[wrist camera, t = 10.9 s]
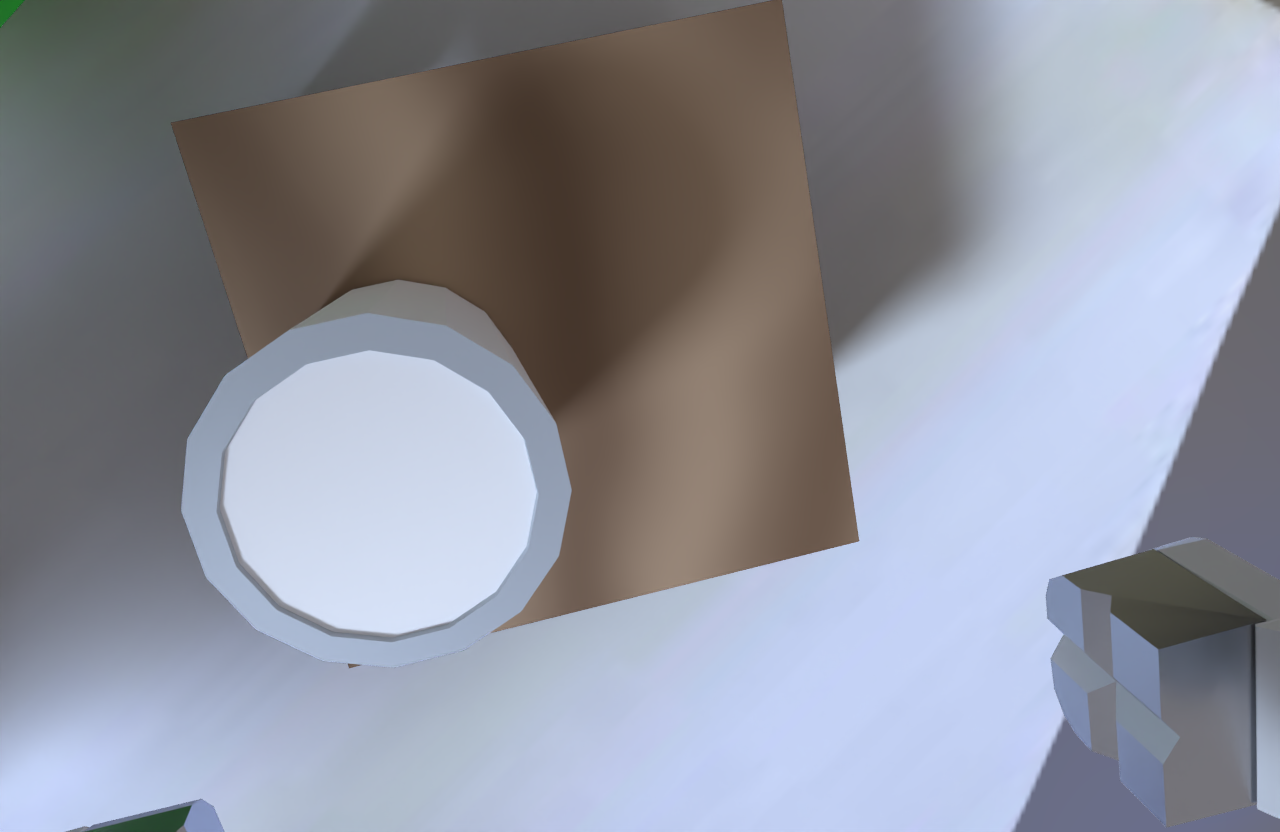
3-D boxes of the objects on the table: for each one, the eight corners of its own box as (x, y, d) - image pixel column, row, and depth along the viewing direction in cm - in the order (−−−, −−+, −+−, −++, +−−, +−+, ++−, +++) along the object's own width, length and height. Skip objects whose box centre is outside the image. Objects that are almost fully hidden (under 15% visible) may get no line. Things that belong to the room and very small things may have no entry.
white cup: (242, 255, 23) (151, 320, 17) (543, 250, 24) (569, 309, 18) (274, 532, 25) (203, 686, 19) (550, 516, 26) (575, 657, 20)
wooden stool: (384, 522, 36) (349, 668, 27) (263, 119, 32) (170, 122, 23) (764, 432, 37) (859, 541, 28) (696, 30, 33) (781, -2, 24)
